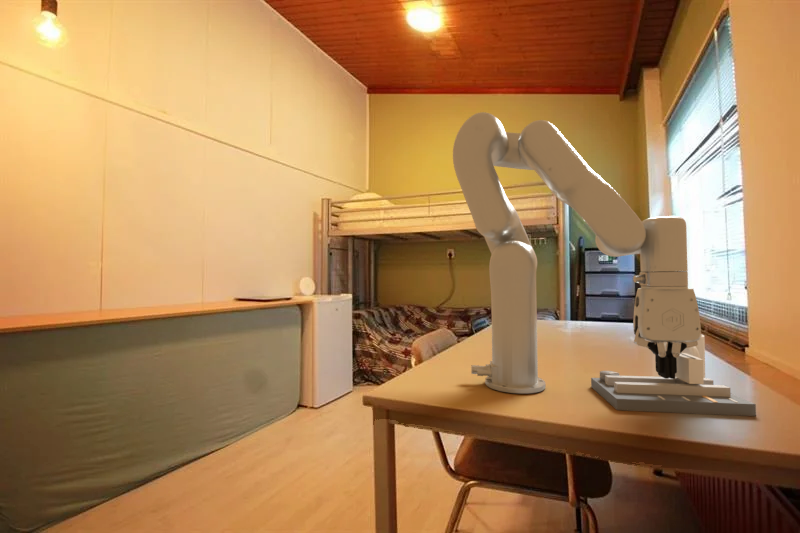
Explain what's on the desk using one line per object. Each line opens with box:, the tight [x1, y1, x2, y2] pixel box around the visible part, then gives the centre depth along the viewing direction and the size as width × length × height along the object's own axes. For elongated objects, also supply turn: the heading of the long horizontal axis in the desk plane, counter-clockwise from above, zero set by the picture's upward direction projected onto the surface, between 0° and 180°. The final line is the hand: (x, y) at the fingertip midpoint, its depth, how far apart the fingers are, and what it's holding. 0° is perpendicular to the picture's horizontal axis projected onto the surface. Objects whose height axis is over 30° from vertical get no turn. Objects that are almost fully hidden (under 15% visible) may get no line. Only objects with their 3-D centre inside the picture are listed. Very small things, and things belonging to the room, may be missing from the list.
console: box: [590, 370, 757, 417], centre depth 75 cm, size 22×14×4 cm, turn 81°
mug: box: [664, 334, 706, 378], centre depth 87 cm, size 12×8×10 cm
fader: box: [675, 353, 704, 384], centre depth 74 cm, size 3×6×6 cm, turn 171°
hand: (666, 376), depth 75 cm, fingers closed
